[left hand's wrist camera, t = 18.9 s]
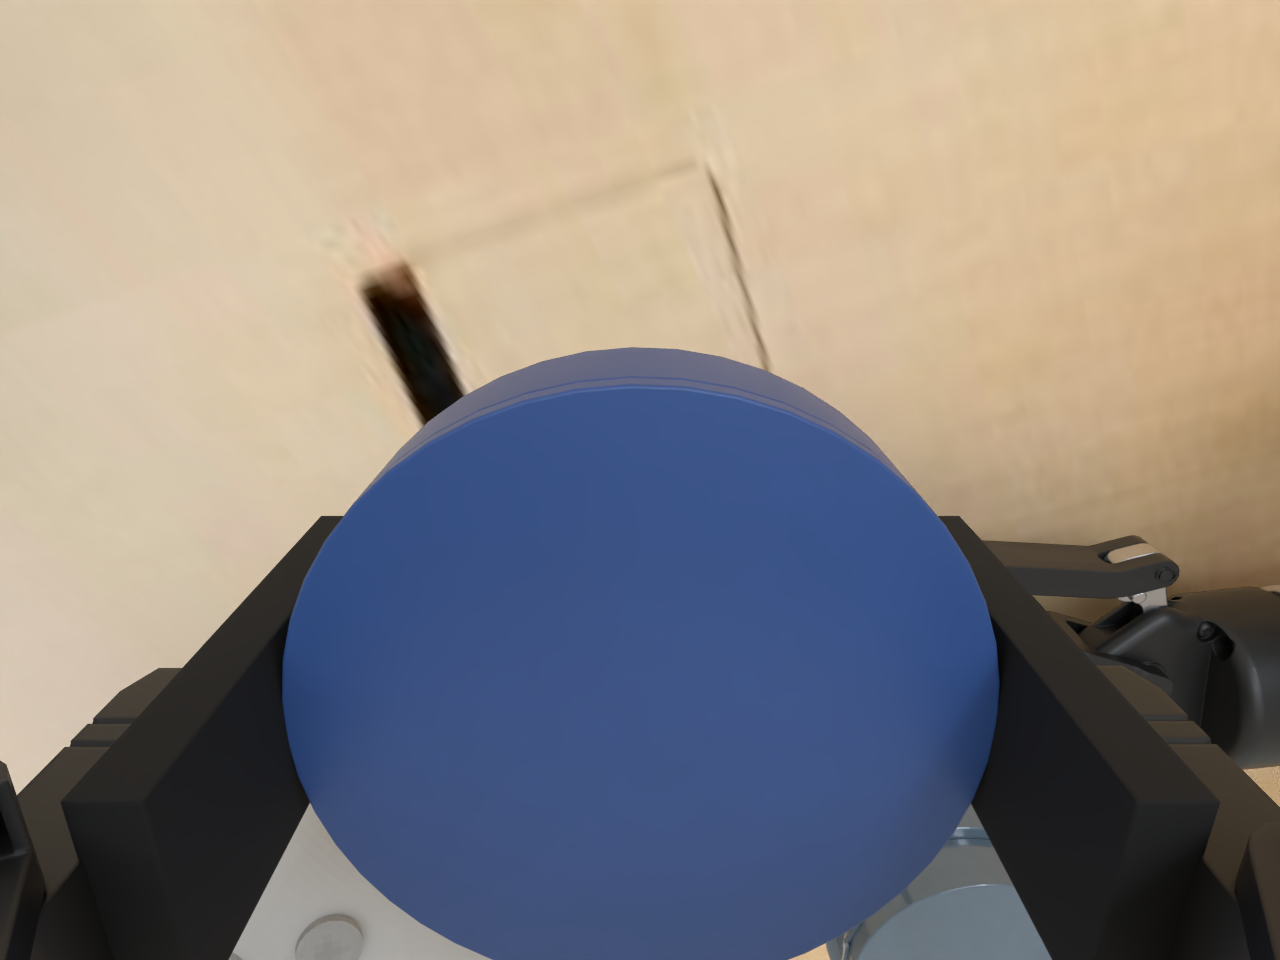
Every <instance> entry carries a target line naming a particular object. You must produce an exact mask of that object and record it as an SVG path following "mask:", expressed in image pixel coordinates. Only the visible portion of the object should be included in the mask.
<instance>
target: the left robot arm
mask: <svg viewBox="0 0 1280 960" xmlns="http://www.w3.org/2000/svg"><path fill="white" fill-rule="evenodd" d="M343 517H344V516H321V517H320V518H319V519H318V520H317V521H316V522H315V524H314V525H313V526H312V527H311V528H310V529H309V530H308V531H307V532H306V533H305V534H304V536H303V537H302V538H301V539H300V540H299V541H298V542H297V543H296V544H295V545H294V547H293V548H292V549H291V550H290V551H289V552H288V553H287V554H286V555H285V556H284V557H283V559H282V560H281V561H280V562H279V563H278V564H277V565H276V566H275V567H274V568H273V570H272V571H271V572H270V573H269V574H268V575H267V576H266V577H265V578H264V579H263V580H262V582H261V583H260V584H259V585H258V586H257V587H256V588H255V589H254V590H253V591H252V592H251V594H250V595H249V596H248V597H247V598H246V599H245V600H244V601H243V602H242V603H241V605H240V606H239V607H238V608H237V609H236V610H235V611H234V612H233V613H232V614H231V615H230V617H229V618H228V619H227V620H226V621H225V622H224V623H223V624H222V625H221V626H220V628H219V629H218V630H217V631H216V632H215V633H214V634H213V635H212V636H211V637H210V638H209V640H208V641H207V642H206V643H205V644H204V645H203V646H202V647H201V648H200V649H199V651H198V652H197V653H196V654H195V655H194V656H193V657H192V658H191V659H190V660H189V661H188V663H187V664H186V665H185V666H184V667H183V668H158V669H157V670H155V671H153V672H152V673H150V674H148V675H147V676H145V677H143V678H142V679H140V680H138V681H137V682H135V683H133V684H132V685H130V686H128V687H127V688H125V689H123V690H122V691H120V692H119V693H118V694H117V695H116V696H115V697H114V698H113V699H112V700H111V701H110V702H109V703H108V704H107V705H106V706H105V707H104V708H103V709H102V710H101V711H100V712H99V713H98V714H97V715H96V716H95V717H94V718H93V723H92V724H87V725H86V726H85V727H84V728H83V729H82V730H81V731H80V732H79V733H78V734H77V735H76V736H75V737H74V738H73V739H72V740H71V745H70V747H64V748H63V749H62V751H61V752H60V753H59V754H58V755H57V756H56V757H55V758H54V759H53V760H52V761H51V762H50V763H49V764H48V765H47V766H46V767H45V768H44V769H43V770H42V771H41V772H40V773H39V774H38V775H37V776H36V777H35V778H34V779H33V780H32V781H31V782H30V783H29V784H28V785H27V786H26V787H25V788H24V789H23V790H22V791H21V792H20V793H19V794H18V795H16V792H15V789H14V786H13V783H12V780H11V777H10V774H9V771H8V768H7V765H6V764H5V763H3V762H1V761H0V960H229V958H230V956H231V954H232V952H233V950H234V948H235V946H236V944H237V942H238V941H239V939H240V937H241V935H242V933H243V931H244V929H245V927H246V925H247V923H248V921H249V919H250V917H251V916H252V914H253V912H254V910H255V908H256V906H257V904H258V902H259V900H260V898H261V896H262V894H263V892H264V890H265V889H266V887H267V885H268V883H269V881H270V879H271V877H272V875H273V873H274V871H275V869H276V867H277V865H278V864H279V862H280V860H281V858H282V856H283V854H284V852H285V850H286V848H287V846H288V844H289V842H290V840H291V838H292V837H293V835H294V833H295V831H296V829H297V827H298V825H299V823H300V821H301V819H302V817H303V815H304V813H305V811H306V810H307V808H308V806H309V804H310V801H309V799H308V797H307V795H306V792H305V790H304V788H303V786H302V784H301V782H300V779H299V777H298V774H297V771H296V768H295V764H294V761H293V757H292V754H291V751H290V747H289V742H288V737H287V732H286V726H285V720H284V712H283V705H282V668H283V655H284V649H285V644H286V638H287V633H288V627H289V622H290V618H291V615H292V612H293V609H294V606H295V603H296V601H297V598H298V595H299V592H300V589H301V587H302V584H303V581H304V578H305V577H306V575H307V573H308V571H309V569H310V567H311V566H312V564H313V562H314V560H315V558H316V556H317V555H318V553H319V551H320V549H321V547H322V545H323V544H324V542H325V540H326V539H327V537H328V536H329V535H330V534H331V532H332V531H333V530H334V528H335V527H336V526H337V524H338V523H339V522H340V520H341V519H342V518H343ZM938 517H939V518H940V520H941V521H942V522H943V523H944V524H945V526H946V527H947V529H948V530H949V532H950V533H951V535H952V537H953V538H954V540H955V541H956V543H957V545H958V546H959V548H960V549H961V551H962V552H963V554H964V556H965V557H966V559H967V560H968V562H969V564H970V566H971V568H972V571H973V573H974V575H975V578H976V580H977V582H978V585H979V587H980V589H981V592H982V594H983V596H984V599H985V601H986V604H987V608H988V612H989V616H990V620H991V624H992V628H993V632H994V636H995V640H996V645H997V657H998V668H999V680H1000V688H999V702H998V714H997V720H996V726H995V731H994V736H993V741H992V746H991V752H990V756H989V760H988V764H987V766H986V769H985V771H984V774H983V776H982V779H981V781H980V784H979V786H978V789H977V791H976V794H975V797H974V799H973V801H972V802H971V805H972V807H973V809H974V811H975V812H976V814H977V816H978V818H979V820H980V822H981V824H982V826H983V828H984V830H985V832H986V834H987V836H988V837H989V839H990V841H991V843H992V845H993V847H994V849H995V851H996V853H997V855H998V857H999V859H1000V861H1001V863H1002V864H1003V866H1004V868H1005V870H1006V872H1007V874H1008V876H1009V878H1010V880H1011V882H1012V884H1013V886H1014V888H1015V889H1016V891H1017V893H1018V895H1019V897H1020V899H1021V901H1022V903H1023V905H1024V907H1025V909H1026V911H1027V913H1028V915H1029V916H1030V918H1031V920H1032V922H1033V924H1034V926H1035V928H1036V930H1037V932H1038V934H1039V936H1040V938H1041V940H1042V941H1043V943H1044V945H1045V947H1046V949H1047V951H1048V953H1049V955H1050V957H1051V959H1052V960H1280V807H1279V806H1278V805H1277V804H1276V803H1275V802H1274V801H1273V800H1272V799H1271V798H1270V797H1269V796H1268V795H1267V794H1266V793H1265V792H1264V791H1263V790H1262V789H1261V788H1260V787H1259V786H1258V785H1257V784H1256V783H1255V782H1254V781H1253V780H1252V779H1251V778H1250V777H1249V776H1248V775H1247V774H1246V773H1245V772H1244V771H1243V770H1242V769H1241V768H1240V767H1239V766H1238V765H1237V764H1236V763H1235V762H1234V761H1233V760H1232V759H1231V758H1230V757H1229V756H1228V755H1227V754H1226V753H1225V752H1224V751H1223V750H1222V749H1221V748H1220V747H1219V746H1218V745H1217V744H1212V743H1211V738H1210V737H1209V736H1208V735H1207V734H1206V733H1205V732H1204V731H1203V730H1202V729H1201V728H1200V727H1199V726H1198V725H1197V724H1196V723H1195V722H1194V721H1189V720H1188V715H1187V714H1186V713H1185V712H1184V711H1183V710H1182V709H1181V708H1180V707H1179V706H1178V705H1177V704H1176V703H1175V702H1174V701H1173V700H1172V699H1171V698H1170V697H1169V696H1168V695H1167V694H1166V693H1165V692H1164V691H1163V690H1162V689H1161V688H1159V687H1158V686H1156V685H1154V684H1153V683H1151V682H1149V681H1148V680H1146V679H1144V678H1142V677H1141V676H1139V675H1137V674H1136V673H1134V672H1132V671H1131V670H1129V669H1127V668H1126V667H1124V666H1096V665H1095V664H1094V663H1093V662H1092V661H1091V660H1090V659H1089V658H1088V656H1087V655H1086V654H1085V653H1084V652H1083V651H1082V650H1081V649H1080V648H1079V647H1078V646H1077V644H1076V643H1075V642H1074V641H1073V640H1072V639H1071V638H1070V637H1069V636H1068V635H1067V633H1066V632H1065V631H1064V630H1063V629H1062V628H1061V627H1060V626H1059V625H1058V624H1057V623H1056V621H1055V620H1054V619H1053V618H1052V617H1051V616H1050V615H1049V614H1048V613H1047V612H1046V610H1045V609H1044V608H1043V607H1042V606H1041V605H1040V604H1039V603H1038V602H1037V601H1036V600H1035V598H1034V597H1033V596H1032V595H1031V594H1030V593H1029V592H1028V591H1027V590H1026V589H1025V588H1024V586H1023V585H1022V584H1021V583H1020V582H1019V581H1018V580H1017V579H1016V578H1015V577H1014V575H1013V574H1012V573H1011V572H1010V571H1009V570H1008V569H1007V568H1006V567H1005V566H1004V565H1003V563H1002V562H1001V561H1000V560H999V559H998V558H997V557H996V556H995V555H994V554H993V552H992V551H991V550H990V549H989V548H988V547H987V546H986V545H985V544H984V543H983V542H982V540H981V539H980V538H979V537H978V536H977V535H976V534H975V533H974V532H973V531H972V530H971V528H970V527H969V526H968V525H967V524H966V523H965V522H964V521H963V520H962V519H961V517H960V516H938Z"/></svg>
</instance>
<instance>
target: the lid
mask: <svg viewBox="0 0 1280 960" xmlns="http://www.w3.org/2000/svg"><path fill="white" fill-rule="evenodd" d="M999 688H1000V680H999V668H998V657H997V645H996V640H995V636H994V632H993V628H992V624H991V620H990V616H989V612H988V608H987V604H986V601H985V599H984V596H983V594H982V592H981V589H980V587H979V585H978V582H977V580H976V578H975V575H974V573H973V571H972V568H971V566H970V564H969V562H968V560H967V559H966V557H965V556H964V554H963V552H962V551H961V549H960V548H959V546H958V545H957V543H956V541H955V540H954V538H953V537H952V535H951V533H950V532H949V530H948V529H947V527H946V526H945V524H944V523H943V522H942V521H941V520H940V518H939V517H938V516H937V515H936V514H935V513H934V511H933V510H932V509H931V508H930V507H929V506H928V504H927V503H926V502H925V501H924V500H923V499H922V497H921V496H920V495H919V494H918V493H917V491H916V490H915V489H914V488H913V487H912V486H911V484H910V483H909V482H908V481H907V480H906V479H905V477H904V476H903V475H902V474H901V473H900V472H899V470H898V469H897V468H896V467H895V466H894V465H893V463H892V462H891V461H890V460H889V459H888V458H887V456H886V455H885V454H884V453H883V452H882V451H881V450H880V448H879V447H878V446H877V445H876V444H875V443H874V441H873V440H872V439H871V438H870V437H869V436H867V435H866V434H865V433H864V432H863V431H862V430H860V429H859V428H858V427H857V426H856V425H855V424H854V423H852V422H851V421H850V420H849V419H848V418H847V417H845V416H844V415H843V414H842V413H841V412H840V411H838V410H837V409H835V408H833V407H832V406H830V405H829V404H827V403H826V402H824V401H823V400H821V399H819V398H818V397H816V396H815V395H813V394H812V393H810V392H809V391H807V390H805V389H804V388H802V387H800V386H797V385H795V384H793V383H791V382H789V381H787V380H785V379H782V378H780V377H778V376H776V375H774V374H772V373H769V372H767V371H765V370H762V369H759V368H756V367H753V366H749V365H746V364H743V363H740V362H737V361H733V360H730V359H727V358H724V357H720V356H714V355H708V354H702V353H696V352H690V351H684V350H679V349H659V348H633V347H631V348H620V349H609V350H598V351H587V352H582V353H578V354H573V355H569V356H564V357H560V358H555V359H551V360H546V361H542V362H539V363H537V364H534V365H531V366H529V367H526V368H523V369H520V370H518V371H515V372H512V373H510V374H507V375H504V376H502V377H499V378H497V379H496V380H494V381H492V382H490V383H488V384H486V385H484V386H482V387H481V388H479V389H477V390H475V391H473V392H471V393H469V394H467V395H466V396H464V397H462V398H461V399H459V400H458V401H456V402H455V403H454V404H452V405H451V406H450V407H448V408H447V409H445V410H444V411H443V412H441V413H440V414H439V415H437V416H436V417H434V418H433V419H432V420H430V421H429V422H428V423H427V424H426V425H425V426H424V427H423V428H421V429H420V430H419V431H418V432H417V433H416V434H415V435H414V436H413V437H412V438H411V439H410V440H409V441H408V442H407V443H406V444H405V445H404V446H403V447H402V448H401V449H400V450H399V451H398V452H397V453H396V454H395V456H394V457H393V458H392V459H391V460H390V461H389V463H388V464H387V465H386V466H385V467H384V468H383V470H382V471H381V472H380V473H379V474H378V475H377V477H376V478H375V479H374V480H373V481H372V482H371V484H370V485H369V486H368V487H367V488H366V490H365V491H364V492H363V493H362V494H361V495H360V497H359V498H358V499H357V500H356V501H355V502H354V504H353V505H352V506H351V507H350V509H349V510H348V511H347V513H346V514H345V515H344V517H343V518H342V519H341V520H340V522H339V523H338V524H337V526H336V527H335V528H334V530H333V531H332V532H331V534H330V535H329V536H328V537H327V539H326V540H325V542H324V544H323V545H322V547H321V549H320V551H319V553H318V555H317V556H316V558H315V560H314V562H313V564H312V566H311V567H310V569H309V571H308V573H307V575H306V577H305V578H304V581H303V584H302V587H301V589H300V592H299V595H298V598H297V601H296V603H295V606H294V609H293V612H292V615H291V618H290V622H289V627H288V633H287V638H286V644H285V649H284V655H283V668H282V705H283V712H284V720H285V726H286V732H287V737H288V742H289V747H290V751H291V754H292V757H293V761H294V764H295V768H296V771H297V774H298V777H299V779H300V782H301V784H302V786H303V788H304V790H305V792H306V795H307V797H308V799H309V801H310V803H311V805H312V808H313V810H314V812H315V813H316V815H317V817H318V818H319V820H320V821H321V823H322V824H323V826H324V827H325V829H326V831H327V832H328V834H329V835H330V837H331V838H332V840H333V841H334V843H335V845H336V846H337V847H338V848H339V849H340V850H341V852H342V853H343V854H344V855H345V856H346V858H347V859H348V860H349V861H350V862H351V863H352V865H353V866H354V867H355V868H356V869H357V871H358V872H359V873H360V874H361V875H362V876H363V877H364V878H365V879H366V880H367V881H368V882H370V883H371V884H372V885H373V886H374V887H375V888H376V889H377V890H378V891H379V892H380V893H381V894H383V895H384V896H385V897H386V898H387V899H388V900H389V901H390V902H392V903H393V904H395V905H396V906H397V907H399V908H400V909H401V910H403V911H404V912H405V913H407V914H408V915H410V916H411V917H412V918H414V919H415V920H416V921H418V922H419V923H420V924H422V925H424V926H426V927H427V928H429V929H431V930H433V931H434V932H436V933H438V934H440V935H441V936H443V937H445V938H447V939H448V940H450V941H452V942H454V943H455V944H458V945H460V946H462V947H464V948H467V949H469V950H471V951H473V952H476V953H478V954H480V955H483V956H485V957H487V958H489V959H492V960H788V959H791V958H794V957H796V956H799V955H802V954H805V953H807V952H809V951H811V950H813V949H815V948H817V947H819V946H821V945H823V944H825V943H827V942H829V941H831V940H833V939H835V938H837V937H839V936H841V935H843V934H844V933H846V932H847V931H849V930H850V929H852V928H854V927H855V926H857V925H858V924H860V923H861V922H863V921H865V920H866V919H868V918H869V917H871V916H873V915H874V914H875V913H876V912H878V911H879V910H880V909H881V908H883V907H884V906H885V905H886V904H888V903H889V902H890V901H891V900H893V899H894V898H895V897H896V896H898V895H899V894H900V893H901V892H903V891H904V890H905V889H906V888H907V887H908V886H909V885H910V884H911V883H912V882H913V881H914V880H915V879H916V878H917V877H918V876H919V875H920V874H921V873H922V872H923V871H924V870H925V869H926V867H927V866H928V865H929V864H930V863H931V862H932V861H933V860H934V858H935V857H936V856H937V854H938V853H939V852H940V851H941V849H942V848H943V847H944V845H945V844H946V843H947V841H948V840H949V839H950V837H951V836H952V835H953V833H954V832H955V830H956V829H957V827H958V825H959V823H960V822H961V820H962V818H963V816H964V815H965V813H966V811H967V809H968V808H969V806H970V804H971V802H972V801H973V799H974V797H975V794H976V791H977V789H978V786H979V784H980V781H981V779H982V776H983V774H984V771H985V769H986V766H987V764H988V760H989V756H990V752H991V746H992V741H993V736H994V731H995V726H996V720H997V714H998V702H999Z"/></svg>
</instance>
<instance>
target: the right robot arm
mask: <svg viewBox="0 0 1280 960" xmlns="http://www.w3.org/2000/svg"><path fill="white" fill-rule="evenodd" d="M982 542H983V543H984V544H985V545H986V546H987V547H988V548H989V549H990V550H991V551H992V552H993V554H994V555H995V556H996V557H997V558H998V559H999V560H1000V561H1001V562H1002V563H1003V565H1004V566H1005V567H1006V568H1007V569H1008V570H1009V571H1010V572H1011V573H1012V574H1013V575H1014V577H1015V578H1016V579H1017V580H1018V581H1019V582H1020V583H1021V584H1022V585H1023V586H1024V588H1025V589H1026V590H1027V591H1028V592H1029V593H1030V594H1031V595H1044V596H1063V597H1082V598H1117V599H1119V600H1120V601H1123V602H1122V603H1121V604H1120V605H1118V606H1117V607H1115V608H1114V609H1112V610H1111V611H1109V612H1108V613H1107V614H1105V615H1104V616H1102V617H1101V618H1099V619H1098V620H1096V621H1095V622H1094V623H1090V622H1086V621H1083V620H1079V619H1076V618H1072V617H1069V616H1065V615H1062V614H1058V613H1055V612H1050V611H1047V613H1048V614H1049V615H1050V616H1051V617H1052V618H1053V619H1054V620H1055V621H1056V623H1057V624H1058V625H1059V626H1060V627H1061V628H1062V629H1063V630H1064V631H1065V632H1066V633H1067V635H1068V636H1069V637H1070V638H1071V639H1072V640H1073V641H1074V642H1075V643H1076V644H1077V646H1078V647H1079V648H1080V649H1081V650H1082V651H1083V652H1084V653H1085V654H1086V655H1087V656H1088V658H1089V659H1090V660H1091V661H1092V662H1093V663H1094V664H1095V665H1096V666H1124V667H1126V668H1127V669H1129V670H1131V671H1132V672H1134V673H1136V674H1137V675H1139V676H1141V677H1142V678H1144V679H1146V680H1148V681H1149V682H1151V683H1153V684H1154V685H1156V686H1158V687H1159V688H1161V689H1162V690H1163V691H1164V692H1165V693H1166V694H1167V695H1168V696H1169V697H1170V698H1171V699H1172V700H1173V701H1174V702H1175V703H1176V704H1177V705H1178V706H1179V707H1180V708H1181V709H1182V710H1183V711H1184V712H1185V713H1186V714H1187V715H1188V720H1189V721H1194V722H1195V723H1196V724H1197V725H1198V726H1199V727H1200V728H1201V729H1202V730H1203V731H1204V732H1205V733H1206V734H1207V735H1208V736H1209V737H1210V738H1211V743H1212V744H1217V745H1218V746H1219V747H1220V748H1221V749H1222V750H1223V751H1224V752H1225V753H1226V754H1227V755H1228V756H1229V757H1230V758H1231V759H1232V760H1233V761H1234V762H1235V763H1236V764H1237V765H1238V766H1239V767H1240V768H1241V769H1242V770H1244V769H1254V768H1264V767H1274V766H1280V584H1277V585H1268V586H1264V587H1262V588H1256V587H1239V588H1230V589H1220V590H1211V591H1202V592H1193V593H1183V594H1177V595H1174V596H1171V597H1169V598H1167V592H1166V587H1167V586H1170V585H1171V584H1173V583H1174V582H1175V581H1176V579H1177V578H1178V576H1179V568H1178V566H1177V565H1176V564H1175V563H1174V562H1173V561H1171V560H1170V559H1169V558H1167V557H1166V556H1165V555H1163V554H1162V553H1161V552H1159V551H1158V550H1157V549H1155V548H1154V547H1153V546H1151V545H1150V544H1148V543H1147V542H1146V541H1144V540H1143V539H1142V538H1140V537H1138V536H1135V535H1134V536H1127V537H1123V538H1119V539H1115V540H1111V541H1107V542H1103V543H1100V544H1096V545H1092V546H1076V545H1057V544H1038V543H1020V542H1001V541H983V540H982Z"/></svg>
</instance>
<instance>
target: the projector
mask: <svg viewBox="0 0 1280 960" xmlns="http://www.w3.org/2000/svg"><path fill="white" fill-rule="evenodd" d="M229 960H492V959H489V958H487V957H485V956H483V955H480V954H478V953H476V952H473V951H471V950H469V949H467V948H464V947H462V946H460V945H458V944H455V943H454V942H452V941H450V940H448V939H447V938H445V937H443V936H441V935H440V934H438V933H436V932H434V931H433V930H431V929H429V928H427V927H426V926H424V925H422V924H420V923H419V922H418V921H416V920H415V919H414V918H412V917H411V916H410V915H408V914H407V913H405V912H404V911H403V910H401V909H400V908H399V907H397V906H396V905H395V904H393V903H392V902H390V901H389V900H388V899H387V898H386V897H385V896H384V895H383V894H381V893H380V892H379V891H378V890H377V889H376V888H375V887H374V886H373V885H372V884H371V883H370V882H368V881H367V880H366V879H365V878H364V877H363V876H362V875H361V874H360V873H359V872H358V871H357V869H356V868H355V867H354V866H353V865H352V863H351V862H350V861H349V860H348V859H347V858H346V856H345V855H344V854H343V853H342V852H341V850H340V849H339V848H338V847H337V846H336V845H335V843H334V841H333V840H332V838H331V837H330V835H329V834H328V832H327V831H326V829H325V827H324V826H323V824H322V823H321V821H320V820H319V818H318V817H317V815H316V813H315V812H314V810H313V808H312V805H311V803H310V804H309V806H308V808H307V810H306V811H305V813H304V815H303V817H302V819H301V821H300V823H299V825H298V827H297V829H296V831H295V833H294V835H293V837H292V838H291V840H290V842H289V844H288V846H287V848H286V850H285V852H284V854H283V856H282V858H281V860H280V862H279V864H278V865H277V867H276V869H275V871H274V873H273V875H272V877H271V879H270V881H269V883H268V885H267V887H266V889H265V890H264V892H263V894H262V896H261V898H260V900H259V902H258V904H257V906H256V908H255V910H254V912H253V914H252V916H251V917H250V919H249V921H248V923H247V925H246V927H245V929H244V931H243V933H242V935H241V937H240V939H239V941H238V942H237V944H236V946H235V948H234V950H233V952H232V954H231V956H230V958H229Z"/></svg>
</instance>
